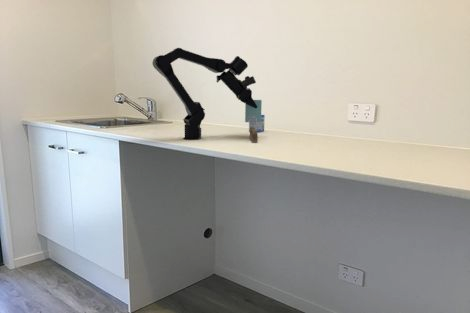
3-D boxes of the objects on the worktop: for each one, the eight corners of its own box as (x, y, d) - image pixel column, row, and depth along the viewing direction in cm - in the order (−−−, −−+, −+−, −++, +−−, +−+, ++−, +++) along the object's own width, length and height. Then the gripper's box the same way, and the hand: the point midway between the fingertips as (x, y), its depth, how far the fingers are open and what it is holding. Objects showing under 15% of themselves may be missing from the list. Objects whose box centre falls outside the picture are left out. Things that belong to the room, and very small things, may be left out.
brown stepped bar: (257, 142, 155) (257, 130, 154) (252, 142, 155) (252, 130, 154) (254, 138, 167) (254, 127, 166) (249, 138, 167) (249, 127, 166)
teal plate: (245, 122, 169) (246, 100, 167) (245, 121, 172) (245, 99, 170) (261, 122, 169) (261, 100, 167) (260, 121, 172) (260, 99, 170)
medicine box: (255, 132, 186) (256, 115, 185) (248, 132, 189) (248, 115, 187) (264, 131, 193) (264, 114, 191) (257, 130, 195) (257, 114, 194)
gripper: (247, 68, 157) (272, 95, 160) (243, 70, 175) (266, 94, 178) (228, 87, 158) (253, 113, 161) (226, 87, 176) (249, 110, 179)
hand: (256, 107), depth 169 cm, fingers closed on teal plate, 3 cm apart
